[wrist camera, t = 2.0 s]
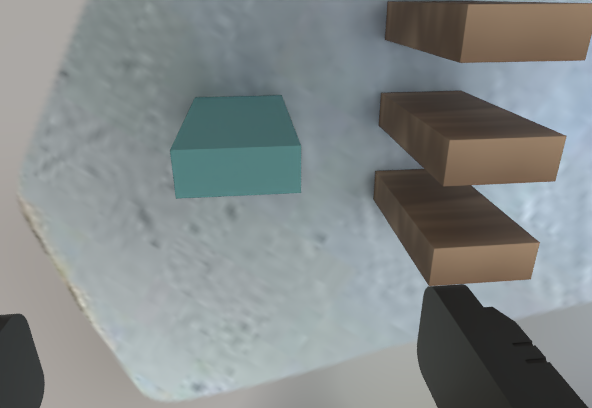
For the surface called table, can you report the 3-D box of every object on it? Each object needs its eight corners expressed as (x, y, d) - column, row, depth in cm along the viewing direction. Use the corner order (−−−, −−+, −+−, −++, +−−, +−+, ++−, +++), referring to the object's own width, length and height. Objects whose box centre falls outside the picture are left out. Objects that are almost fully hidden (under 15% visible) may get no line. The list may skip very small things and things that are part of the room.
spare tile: (195, 97, 26) (169, 150, 17) (281, 95, 27) (300, 145, 18) (198, 131, 27) (175, 198, 18) (282, 128, 28) (301, 192, 19)
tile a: (375, 171, 29) (434, 248, 20) (449, 167, 30) (539, 242, 21) (373, 199, 30) (428, 285, 21) (445, 195, 31) (530, 279, 22)
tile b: (381, 92, 27) (449, 140, 18) (461, 90, 28) (566, 136, 19) (378, 125, 28) (443, 186, 19) (456, 122, 29) (555, 181, 20)
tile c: (387, 1, 25) (468, 4, 16) (473, 1, 26) (599, 3, 17) (384, 39, 26) (460, 62, 17) (468, 38, 27) (585, 60, 18)
